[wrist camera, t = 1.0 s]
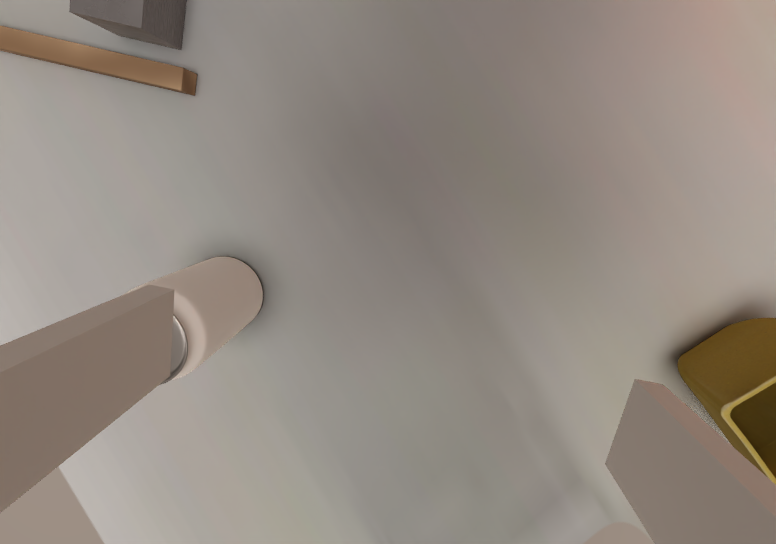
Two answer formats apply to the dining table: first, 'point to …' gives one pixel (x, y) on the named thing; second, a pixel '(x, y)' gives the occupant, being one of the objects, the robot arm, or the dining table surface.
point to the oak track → (97, 60)
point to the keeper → (137, 18)
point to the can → (208, 308)
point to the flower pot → (739, 387)
